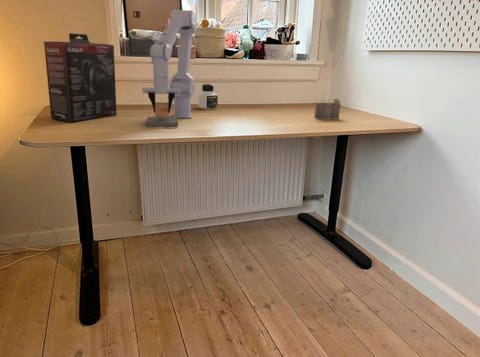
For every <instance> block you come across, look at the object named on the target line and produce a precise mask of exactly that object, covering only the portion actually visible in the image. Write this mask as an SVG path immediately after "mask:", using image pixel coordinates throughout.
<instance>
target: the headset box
mask: <svg viewBox="0 0 480 357" xmlns="http://www.w3.org/2000/svg"><path fill="white" fill-rule="evenodd" d="M78 37H80V38H78ZM68 40H69V41H43V46H44V55H45V57H44V58H45V66H46V77H47V78H46V79H47V88H48V97H49V99H48V101H49V107H50V119H52V120H58V121H63V122H66V123H75V122H81V121H87V120H94V119H101V118H107V117H108V118H109V117H113V116H117V96H116V95H117V94H116V92H117V91H116V70H115V69H116V68H115V67H116V66H115V46H114V44H107V43H96V42H95V43H94V42H90V39H89V36H88V34H87V33H85V34H84V33H71V32H70V33H69V35H68Z"/></svg>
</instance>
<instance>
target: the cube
mask: <svg viewBox="0 0 480 357" xmlns="http://www.w3.org/2000/svg"><path fill="white" fill-rule="evenodd" d="M168 105H169V104H168V102H161V101H160V102H157V101H155V113H154V114H155V115H154V117H170V116H169V115H170V113H168Z"/></svg>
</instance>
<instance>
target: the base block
mask: <svg viewBox="0 0 480 357" xmlns="http://www.w3.org/2000/svg"><path fill="white" fill-rule="evenodd" d="M178 124H179V123H178V118H177V117H173V116H169V117H155V116H147V118H146V120H145V128H146V127H178Z"/></svg>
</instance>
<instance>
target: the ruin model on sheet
mask: <svg viewBox="0 0 480 357" xmlns="http://www.w3.org/2000/svg"><path fill="white" fill-rule="evenodd" d="M314 109H315V110H314V117H315V118H314V119H316V118H339V119H340V110H341V101H340V100H339V98H333V102H319V103H318V102H315V108H314Z"/></svg>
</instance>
